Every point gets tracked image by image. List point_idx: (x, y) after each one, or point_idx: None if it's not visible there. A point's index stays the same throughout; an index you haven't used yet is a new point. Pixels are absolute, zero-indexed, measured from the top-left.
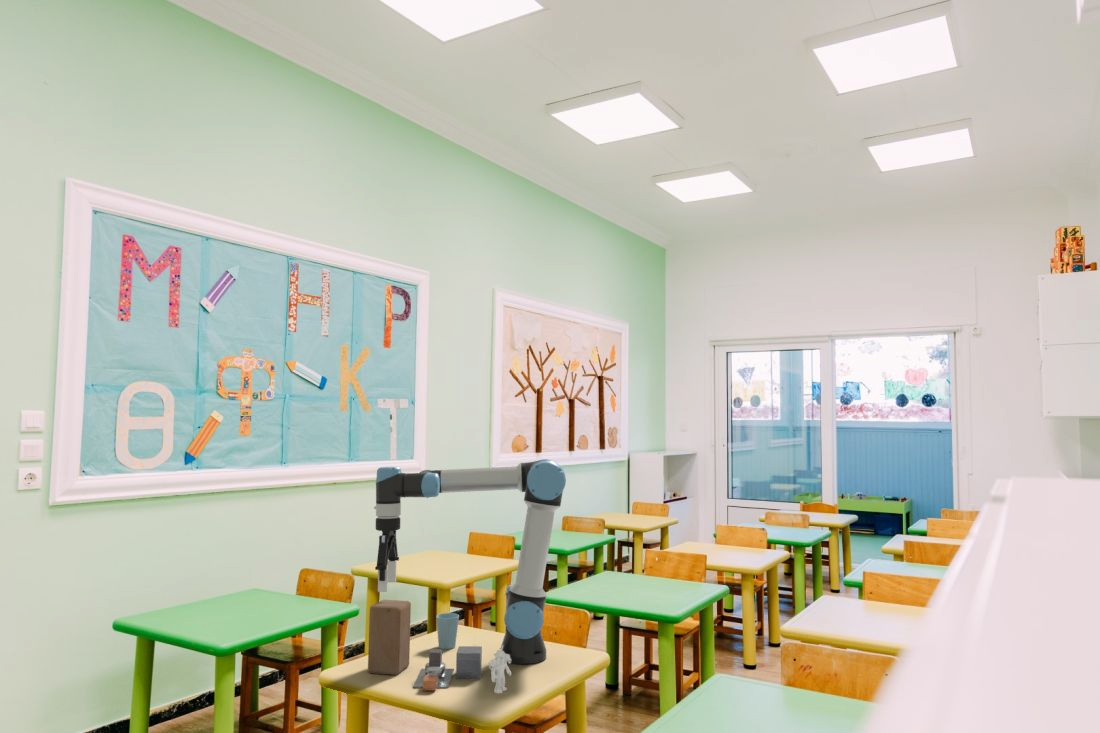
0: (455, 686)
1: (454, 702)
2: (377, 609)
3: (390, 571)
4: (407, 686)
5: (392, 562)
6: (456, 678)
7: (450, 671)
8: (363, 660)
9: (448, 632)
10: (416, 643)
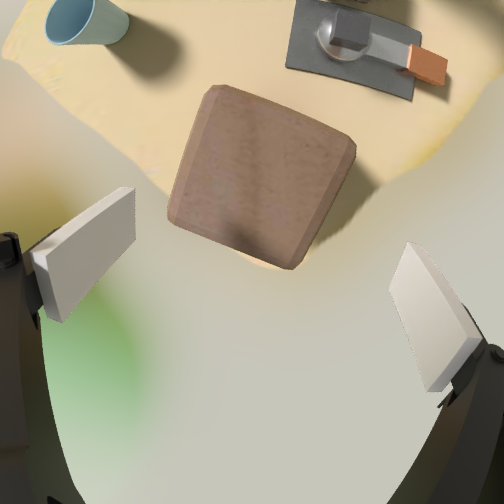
0: (410, 16)
1: (485, 47)
2: (313, 238)
3: (99, 255)
4: (397, 109)
5: (57, 281)
6: (367, 2)
7: (318, 5)
8: None
9: (112, 11)
10: (80, 100)
